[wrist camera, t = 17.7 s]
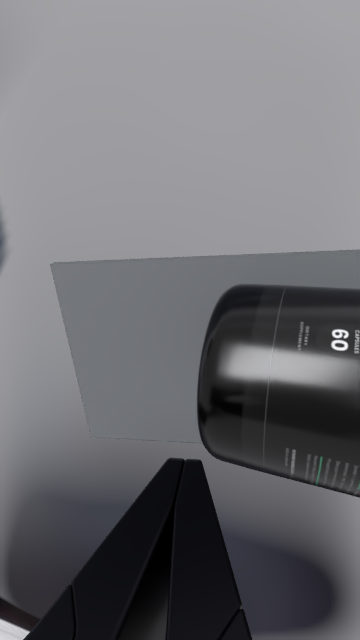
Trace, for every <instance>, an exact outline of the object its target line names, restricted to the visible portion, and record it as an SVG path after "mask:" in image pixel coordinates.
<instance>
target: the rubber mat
mask: <svg viewBox="0 0 360 640" xmlns="http://www.w3.org/2000/svg"><path fill="white" fill-rule="evenodd" d="M50 265H51V270H52V274H53V279H54V282H55V287H56V291H57V295H58V299H59V304H60V308H61V312H62V317H63V321H64V325H65V329H66V334H67V338H68V342H69V346H70V350H71V355H72V359H73V363H74V367H75V372H76V376H77V380H78V384H79V388H80V393H81V397H82V401H83V405H84V410H85V414H86V418H87V422H88V426H89V431H90V435H91V437H97V438H115V439H116V438H117V439H133V440H151V441H169V442H170V441H171V442H188V443H202V440H201V437H200V433H199V428H198V420H197V385H198V373H199V365H200V359H201V353H202V347H203V343H204V338H205V334H206V330H207V327H208V323H209V320H210V317H211V314H212V312H213V309H214V307H215V305H216V303H217V301H218V299H219V298H220V296H221V295H222V294H223V293H224V292H225V291H226V290H227V289H229V288H230V287H232V286H234V285H238V284H265V285H269V284H270V285H291V286H312V287H333V288H354V289H360V250H340V251H319V252H318V251H317V252H293V253H268V254H245V255H222V256H221V255H220V256H197V257H174V258H149V259H127V260H126V259H125V260H102V261H77V262H55V263H52V264H50Z"/></svg>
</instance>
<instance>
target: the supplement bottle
mask: <svg viewBox="0 0 360 640" xmlns="http://www.w3.org/2000/svg"><path fill="white" fill-rule="evenodd" d="M197 420H198V428H199V433H200V437H201V440H202V443H203V445H204V446H205V448H206V449H207V451H208V452H209V453H210V454H211V455H212V456H213V457H215V458H217V459H219V460H221V461H225V462H228V463H232V464H235V465H239V466H243V467H246V468H249V469H253V470H257V471H261V472H264V473H268V474H272V475H276V476H280V477H283V478H287V479H291V480H295V481H299V482H303V483H306V484H310V485H314V486H318V487H322V488H326V489H330V490H333V491H337V492H341V493H345V494H349V495H352V496H356V497H360V289H354V288H333V287H312V286H291V285H270V284H269V285H265V284H238V285H234V286H232V287H230V288H229V289H227V290H226V291H225V292H224V293H223V294H222V295H221V296H220V298H219V299H218V301H217V303H216V305H215V307H214V309H213V312H212V314H211V317H210V320H209V323H208V327H207V330H206V334H205V338H204V343H203V347H202V353H201V359H200V365H199V373H198V385H197Z"/></svg>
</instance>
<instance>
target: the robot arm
mask: <svg viewBox="0 0 360 640" xmlns="http://www.w3.org/2000/svg"><path fill="white" fill-rule="evenodd" d="M71 584H72V585H68V586H67V587H66V589H65V590H64V591H63V593H62V594H61V595H60V596H59V598H58V599H57V600H56V601H55V603H54V604H53V605H52V606H51V607H50V609H49V610H48V611H47V612H46V614H45V615H44V616H43V617H42V618H41V620H40V621H39V622H38V623H37V624H36V626H35V627H34V628H33V629H32V631H31V632H30V633H29V634H28V635H27V636H26V637H25V638H24V639H23V640H164V637H165V632H166V640H252V637H251V634H250V631H249V627H248V623H247V620H246V616H245V612H244V610H243V609H242V603H241V599H240V595H239V592H238V588H237V585H236V582H235V578H234V574H233V571H232V567H231V563H230V560H229V557H228V553H227V549H226V546H225V542H224V539H223V535H222V532H221V528H220V525H219V521H218V517H217V514H216V510H215V507H214V503H213V500H212V496H211V493H210V489H209V485H208V482H207V479H206V475H205V471H204V468H203V464H202V462H201V460H197V459H186V460H184V459H182V458H169V459H168V460H167V461H166V462H165V463H164V465H163V466H162V467H161V468H160V470H159V471H158V472H157V473H156V475H155V476H154V477H153V479H152V480H151V481H150V482H149V484H148V485H147V486H146V487H145V489H144V490H143V491H142V492H141V494H140V495H139V496H138V498H137V499H136V500H135V502H134V503H133V504H132V505H131V507H130V508H129V509H128V510H127V512H126V513H125V514H124V515H123V517H122V518H121V519H120V520H119V522H118V523H117V524H116V525H115V527H114V528H113V529H112V530H111V532H110V533H109V534H108V536H107V537H106V538H105V539H104V541H103V542H102V543H101V544H100V546H99V547H98V548H97V550H96V551H95V552H94V553H93V555H92V556H91V557H90V558H89V560H88V561H87V562H86V564H85V565H84V566H83V567H82V569H81V570H80V571H79V572H78V574H77V575H76V576H75V578H74V579H73V580H72V582H71Z"/></svg>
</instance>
